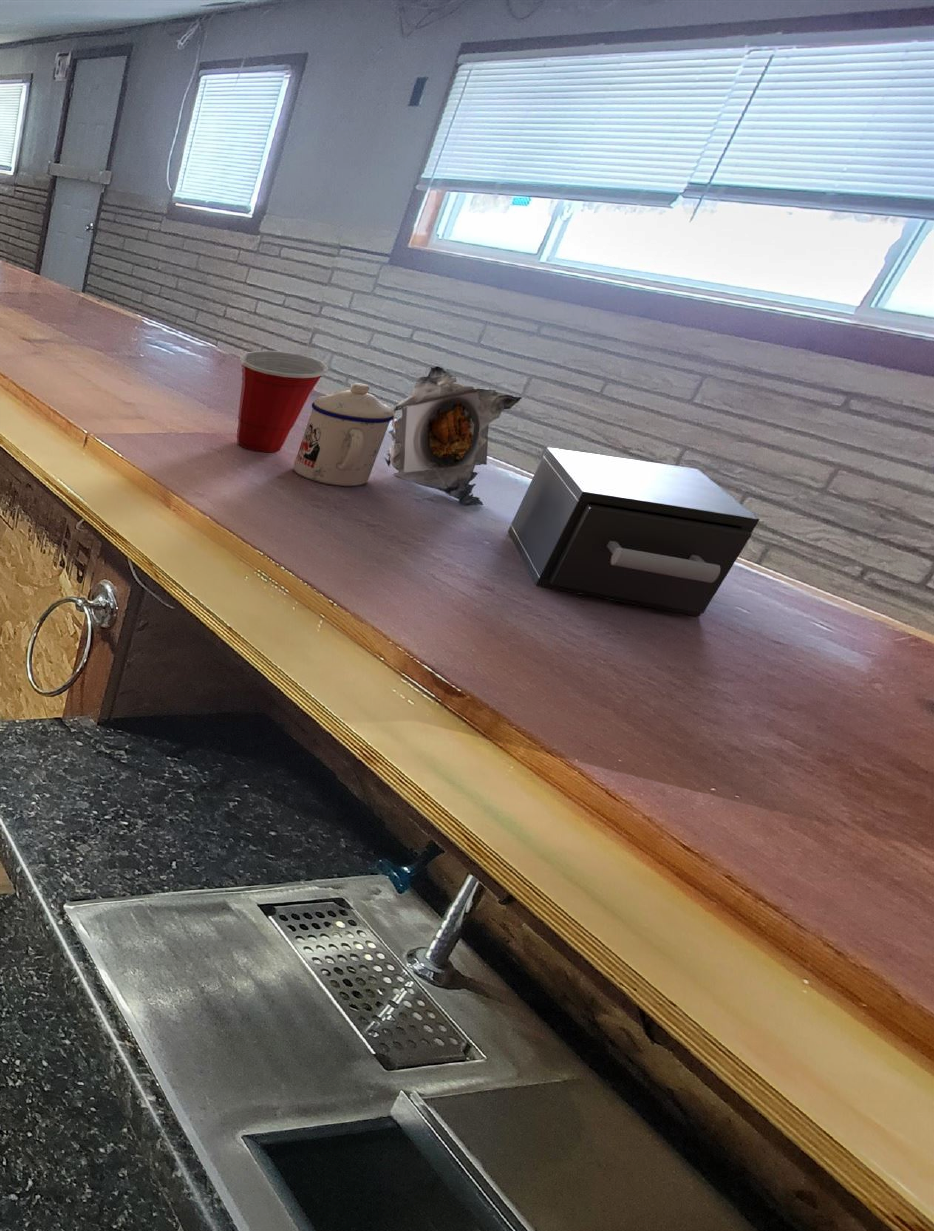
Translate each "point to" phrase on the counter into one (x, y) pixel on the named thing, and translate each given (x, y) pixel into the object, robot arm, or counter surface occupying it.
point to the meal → (444, 433)
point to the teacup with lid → (343, 437)
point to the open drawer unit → (648, 556)
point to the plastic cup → (273, 396)
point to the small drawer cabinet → (614, 482)
